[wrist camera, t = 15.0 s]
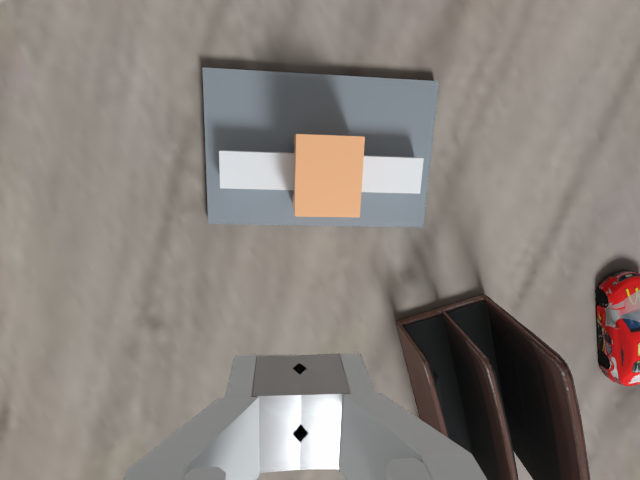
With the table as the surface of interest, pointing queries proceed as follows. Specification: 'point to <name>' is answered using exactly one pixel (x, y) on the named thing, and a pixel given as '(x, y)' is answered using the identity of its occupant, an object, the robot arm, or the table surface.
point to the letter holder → (495, 390)
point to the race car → (619, 327)
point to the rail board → (315, 119)
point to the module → (327, 175)
